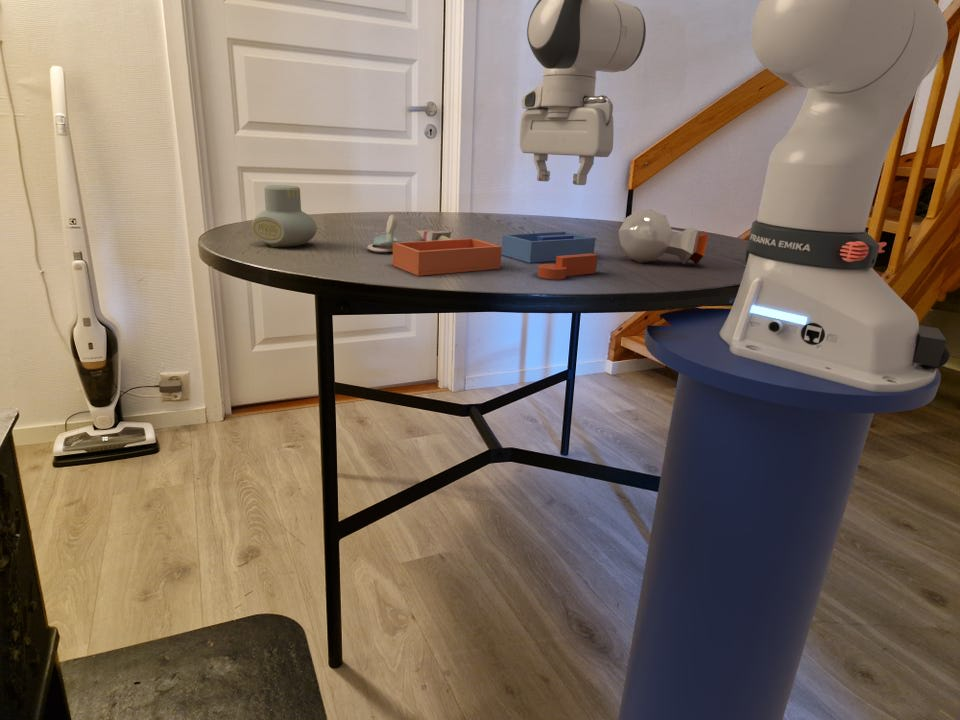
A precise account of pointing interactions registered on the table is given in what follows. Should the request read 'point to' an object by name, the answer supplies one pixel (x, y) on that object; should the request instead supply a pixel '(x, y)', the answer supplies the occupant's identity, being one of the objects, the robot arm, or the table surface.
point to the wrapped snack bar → (434, 235)
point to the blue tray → (545, 246)
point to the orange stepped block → (569, 266)
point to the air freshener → (283, 218)
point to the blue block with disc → (554, 237)
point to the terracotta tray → (446, 256)
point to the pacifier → (386, 238)
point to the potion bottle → (659, 238)
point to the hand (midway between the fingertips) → (560, 183)
